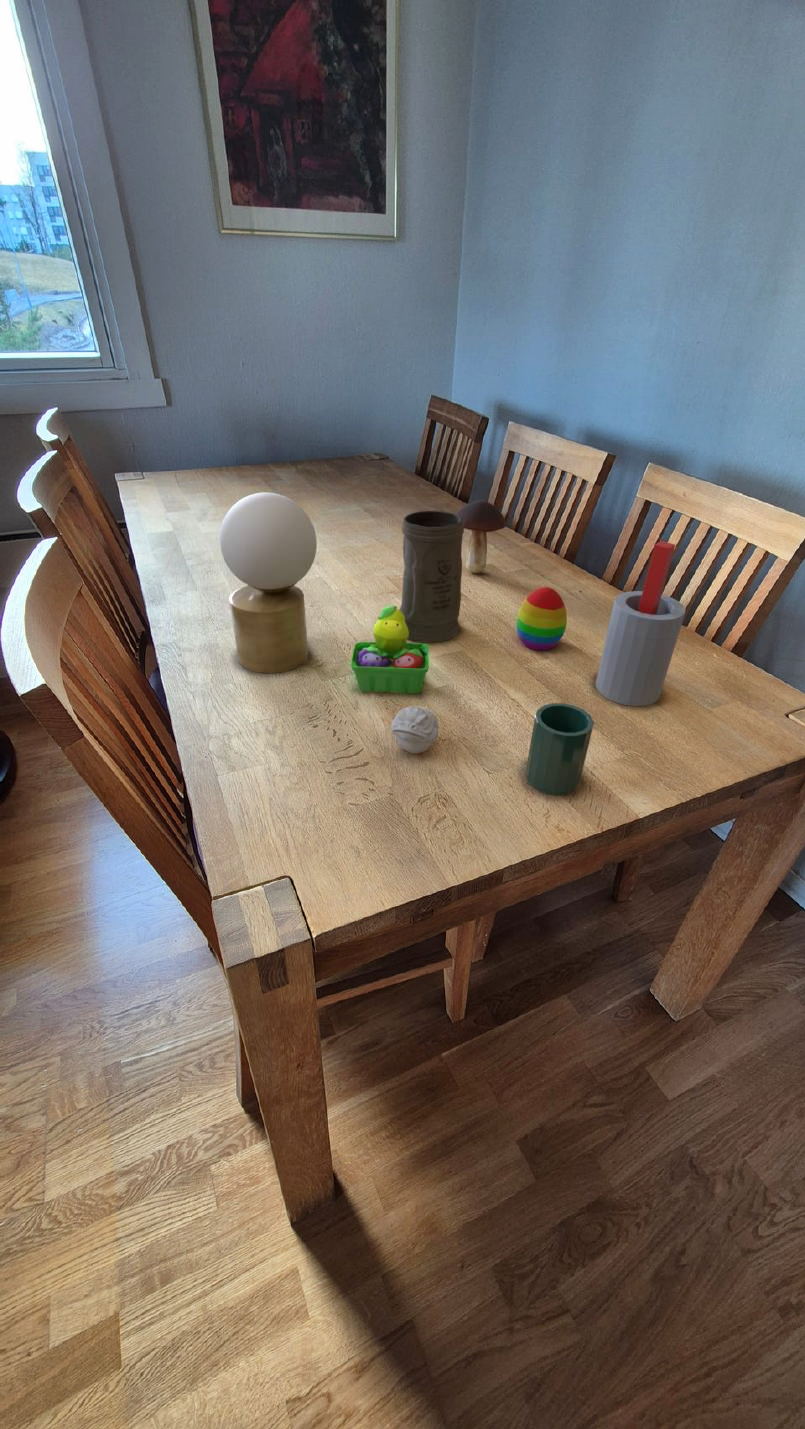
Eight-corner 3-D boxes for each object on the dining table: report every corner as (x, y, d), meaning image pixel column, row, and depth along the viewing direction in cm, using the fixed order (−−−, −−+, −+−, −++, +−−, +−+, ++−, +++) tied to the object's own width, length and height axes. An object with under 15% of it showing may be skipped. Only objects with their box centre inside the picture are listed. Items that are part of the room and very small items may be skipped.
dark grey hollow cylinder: (474, 634, 109) (479, 517, 99) (424, 650, 104) (424, 529, 93) (422, 608, 120) (422, 500, 109) (375, 621, 115) (370, 509, 104)
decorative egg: (507, 647, 106) (514, 591, 100) (522, 627, 112) (530, 574, 106) (554, 658, 103) (565, 602, 97) (567, 638, 109) (578, 584, 103)
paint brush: (642, 685, 95) (682, 544, 83) (632, 693, 93) (671, 550, 81) (622, 677, 97) (658, 538, 84) (613, 685, 95) (648, 544, 82)
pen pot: (589, 777, 78) (603, 718, 73) (561, 803, 74) (574, 743, 69) (544, 754, 82) (555, 696, 77) (515, 777, 78) (524, 718, 73)
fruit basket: (350, 696, 92) (348, 627, 86) (356, 665, 100) (355, 600, 93) (427, 699, 92) (431, 630, 86) (428, 668, 99) (431, 602, 93)
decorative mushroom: (510, 571, 133) (518, 500, 125) (481, 587, 126) (489, 512, 117) (467, 559, 139) (473, 490, 130) (438, 573, 132) (442, 501, 123)
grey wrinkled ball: (382, 760, 80) (383, 715, 76) (401, 730, 85) (402, 687, 81) (428, 771, 78) (430, 726, 74) (444, 740, 84) (447, 696, 80)
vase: (670, 689, 96) (696, 604, 88) (642, 714, 90) (667, 626, 82) (613, 667, 101) (633, 585, 93) (584, 689, 95) (602, 604, 87)
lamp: (260, 624, 111) (242, 477, 96) (335, 635, 108) (328, 486, 93) (216, 665, 99) (189, 505, 84) (299, 679, 96) (285, 516, 81)
